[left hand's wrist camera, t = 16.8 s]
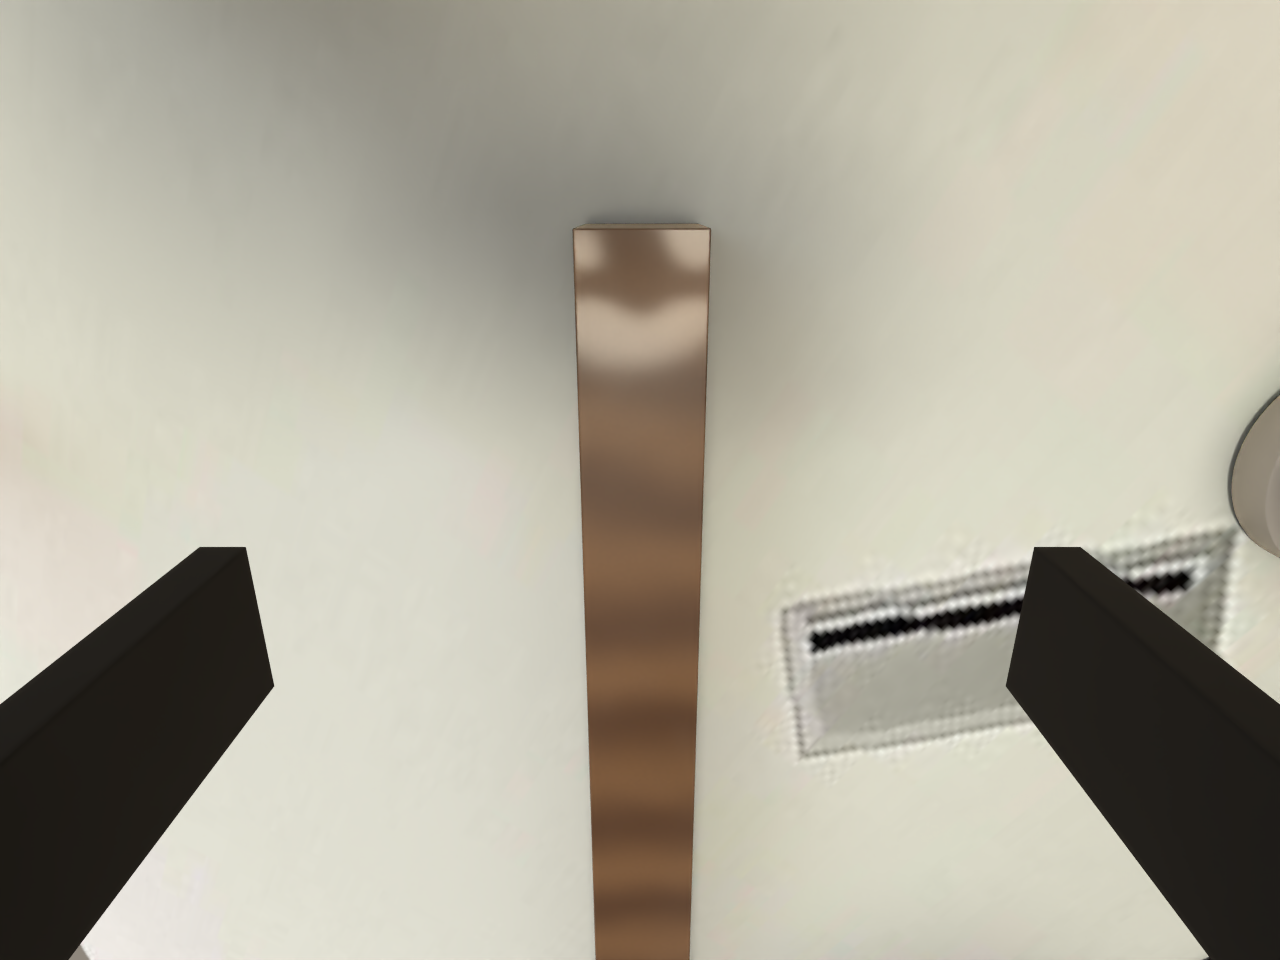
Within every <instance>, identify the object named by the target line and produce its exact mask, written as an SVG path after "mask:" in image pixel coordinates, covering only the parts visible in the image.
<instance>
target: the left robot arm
mask: <svg viewBox="0 0 1280 960" xmlns="http://www.w3.org/2000/svg"><path fill="white" fill-rule="evenodd" d="M273 687H274V683H273V678H272V673H271V668H270V663H269V658H268V653H267V649H266V644H265V639H264V634H263V629H262V624H261V619H260V614H259V609H258V605H257V600H256V595H255V590H254V585H253V580H252V575H251V570H250V566H249V561H248V556H247V551H246V547H199V548H198V549H197V550H195V551H194V552H193V553H192V554H190V555H189V556H188V557H187V558H185V559H184V560H183V561H181V562H180V563H179V564H178V565H176V566H175V567H174V568H173V569H171V570H170V571H169V572H168V573H166V574H165V575H164V576H162V577H161V578H160V579H159V580H157V581H156V582H155V583H154V584H152V585H151V586H150V587H148V588H147V589H146V590H145V591H143V592H142V593H141V594H140V595H138V596H137V597H136V598H135V599H133V600H132V601H131V602H129V603H128V604H127V605H126V606H124V607H123V608H122V609H121V610H119V611H118V612H117V613H116V614H114V615H113V616H112V617H110V618H109V619H108V620H107V621H105V622H104V623H103V624H102V625H100V626H99V627H98V628H97V629H95V630H94V631H93V632H91V633H90V634H89V635H88V636H86V637H85V638H84V639H83V640H81V641H80V642H79V643H77V644H76V645H75V646H74V647H72V648H71V649H70V650H69V651H67V652H66V653H65V654H64V655H62V656H61V657H60V658H58V659H57V660H56V661H55V662H53V663H52V664H51V665H50V666H48V667H47V668H46V669H45V670H43V671H42V672H41V673H39V674H38V675H37V676H36V677H34V678H33V679H32V680H31V681H29V682H28V683H27V684H26V685H24V686H23V687H22V688H20V689H19V690H18V691H17V692H15V693H14V694H13V695H12V696H10V697H9V698H8V699H6V700H5V701H4V702H3V703H1V704H0V960H69V958H70V957H71V956H72V954H73V953H74V952H75V950H76V949H77V948H78V946H79V945H80V944H81V942H82V941H83V940H84V938H85V937H86V936H87V934H88V933H89V932H90V930H91V929H92V928H93V926H94V925H95V924H96V922H97V921H98V920H99V918H100V917H101V916H102V914H103V913H104V912H105V910H106V909H107V908H108V906H109V905H110V904H111V902H112V901H113V900H114V898H115V897H116V896H117V894H118V893H119V892H120V890H121V889H122V888H123V886H124V885H125V884H126V883H127V881H128V880H129V879H130V877H131V876H132V875H133V873H134V872H135V871H136V869H137V868H138V867H139V865H140V864H141V863H142V861H143V860H144V859H145V857H146V856H147V855H148V853H149V852H150V851H151V849H152V848H153V847H154V845H155V844H156V843H157V841H158V840H159V839H160V837H161V836H162V835H163V833H164V832H165V831H166V829H167V828H168V827H169V825H170V824H171V823H172V821H173V820H174V819H175V817H176V816H177V815H178V813H179V812H180V811H181V809H182V808H183V807H184V805H185V804H186V803H187V801H188V800H189V799H190V797H191V796H192V795H193V793H194V792H195V791H196V789H197V788H198V787H199V785H200V784H201V783H202V781H203V780H204V779H205V777H206V776H207V775H208V773H209V772H210V771H211V770H212V768H213V767H214V766H215V764H216V763H217V762H218V760H219V759H220V758H221V756H222V755H223V754H224V752H225V751H226V750H227V748H228V747H229V746H230V744H231V743H232V742H233V740H234V739H235V738H236V736H237V735H238V734H239V732H240V731H241V730H242V728H243V727H244V726H245V724H246V723H247V722H248V720H249V719H250V718H251V716H252V715H253V714H254V712H255V711H256V710H257V708H258V707H259V706H260V704H261V703H262V702H263V700H264V699H265V698H266V696H267V695H268V694H269V692H270V691H271V690H272V688H273ZM1006 687H1007V688H1008V690H1009V691H1010V692H1011V694H1012V695H1013V696H1014V698H1015V699H1016V700H1017V702H1018V703H1019V704H1020V706H1021V707H1022V708H1023V710H1024V711H1025V712H1026V714H1027V715H1028V716H1029V718H1030V719H1031V720H1032V722H1033V723H1034V724H1035V726H1036V727H1037V728H1038V730H1039V731H1040V732H1041V734H1042V735H1043V736H1044V738H1045V739H1046V740H1047V742H1048V743H1049V744H1050V746H1051V747H1052V748H1053V750H1054V751H1055V752H1056V754H1057V755H1058V756H1059V758H1060V759H1061V760H1062V762H1063V763H1064V764H1065V766H1066V767H1067V768H1068V770H1069V771H1070V772H1071V773H1072V775H1073V776H1074V777H1075V779H1076V780H1077V781H1078V783H1079V784H1080V785H1081V787H1082V788H1083V789H1084V791H1085V792H1086V793H1087V795H1088V796H1089V797H1090V799H1091V800H1092V801H1093V803H1094V804H1095V805H1096V807H1097V808H1098V809H1099V811H1100V812H1101V813H1102V815H1103V816H1104V817H1105V819H1106V820H1107V821H1108V823H1109V824H1110V825H1111V827H1112V828H1113V829H1114V831H1115V832H1116V833H1117V835H1118V836H1119V837H1120V839H1121V840H1122V841H1123V843H1124V844H1125V845H1126V847H1127V848H1128V849H1129V851H1130V852H1131V853H1132V855H1133V856H1134V857H1135V859H1136V860H1137V861H1138V863H1139V864H1140V865H1141V867H1142V868H1143V869H1144V871H1145V872H1146V873H1147V875H1148V876H1149V877H1150V879H1151V880H1152V881H1153V883H1154V884H1155V885H1156V886H1157V888H1158V889H1159V890H1160V892H1161V893H1162V894H1163V896H1164V897H1165V898H1166V900H1167V901H1168V902H1169V904H1170V905H1171V906H1172V908H1173V909H1174V910H1175V912H1176V913H1177V914H1178V916H1179V917H1180V918H1181V920H1182V921H1183V922H1184V924H1185V925H1186V926H1187V928H1188V929H1189V930H1190V932H1191V933H1192V934H1193V936H1194V937H1195V938H1196V940H1197V941H1198V942H1199V944H1200V945H1201V946H1202V948H1203V949H1204V950H1205V952H1206V953H1207V954H1208V956H1209V957H1210V958H1211V960H1280V704H1279V703H1277V702H1276V701H1275V700H1274V699H1272V698H1271V697H1270V696H1268V695H1267V694H1266V693H1265V692H1263V691H1262V690H1261V689H1260V688H1258V687H1257V686H1256V685H1254V684H1253V683H1252V682H1251V681H1249V680H1248V679H1247V678H1246V677H1244V676H1243V675H1242V674H1241V673H1239V672H1238V671H1237V670H1235V669H1234V668H1233V667H1232V666H1230V665H1229V664H1228V663H1227V662H1225V661H1224V660H1223V659H1222V658H1220V657H1219V656H1218V655H1216V654H1215V653H1214V652H1213V651H1211V650H1210V649H1209V648H1208V647H1206V646H1205V645H1204V644H1203V643H1201V642H1200V641H1199V640H1197V639H1196V638H1195V637H1194V636H1192V635H1191V634H1190V633H1189V632H1187V631H1186V630H1185V629H1183V628H1182V627H1181V626H1180V625H1178V624H1177V623H1176V622H1175V621H1173V620H1172V619H1171V618H1170V617H1168V616H1167V615H1166V614H1164V613H1163V612H1162V611H1161V610H1159V609H1158V608H1157V607H1156V606H1154V605H1153V604H1152V603H1151V602H1149V601H1148V600H1147V599H1145V598H1144V597H1143V596H1142V595H1140V594H1139V593H1138V592H1137V591H1135V590H1134V589H1133V588H1132V587H1130V586H1129V585H1128V584H1126V583H1125V582H1124V581H1123V580H1121V579H1120V578H1119V577H1118V576H1116V575H1115V574H1114V573H1112V572H1111V571H1110V570H1109V569H1107V568H1106V567H1105V566H1104V565H1102V564H1101V563H1100V562H1099V561H1097V560H1096V559H1095V558H1093V557H1092V556H1091V555H1090V554H1088V553H1087V552H1086V551H1085V550H1083V549H1082V548H1081V547H1034V551H1033V556H1032V561H1031V566H1030V570H1029V575H1028V580H1027V585H1026V590H1025V595H1024V600H1023V605H1022V609H1021V614H1020V619H1019V624H1018V629H1017V634H1016V639H1015V644H1014V649H1013V653H1012V658H1011V663H1010V668H1009V673H1008V678H1007V683H1006Z"/></svg>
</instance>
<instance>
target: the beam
mask: <svg viewBox="0 0 1280 960" xmlns="http://www.w3.org/2000/svg"><path fill="white" fill-rule="evenodd" d="M710 248H711V229H710V228H708V227H705V226H703V225H700V224H584V225H582V226H579V227H576V228H574V229H573V257H574V289H575V320H576V352H577V384H578V416H579V447H580V479H581V511H582V543H583V574H584V606H585V638H586V669H587V701H588V733H589V765H590V796H591V828H592V860H593V891H594V923H595V955H596V960H689V956H690V923H691V889H692V855H693V821H694V788H695V754H696V720H697V686H698V653H699V619H700V585H701V551H702V518H703V484H704V450H705V416H706V383H707V349H708V315H709V282H710Z"/></svg>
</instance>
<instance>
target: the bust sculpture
mask: <svg viewBox="0 0 1280 960" xmlns="http://www.w3.org/2000/svg"><path fill="white" fill-rule="evenodd" d="M1232 502H1233V507H1234V510H1235V514H1236V516H1237V519H1238V521H1239V523H1240V525H1241V527H1242V528H1243V530H1244V531H1245V532H1246V534H1247V535H1248V536H1249V537H1250V538H1251V539H1252V540H1253V541H1254V542H1255V543H1256V544H1257V545H1259V546H1260V547H1262V548H1263V549H1265V550H1267V551H1268V552H1270V553H1272V554H1274V555H1276V556H1277V557H1279V558H1280V395H1279V396H1278V397H1277V398H1276V399H1275V400H1274V401H1273V402H1272V403H1271V404H1270V405H1269V406H1268V407H1267V408H1266V409H1265V411H1264V412H1263V413H1262V414H1261V415H1260V417H1259V418H1258V419H1257V421H1256V422H1255V423H1254V425H1253V426H1252V428H1251V429H1250V431H1249V433H1248V434H1247V436H1246V438H1245V440H1244V442H1243V444H1242V446H1241V448H1240V451H1239V453H1238V456H1237V459H1236V462H1235V466H1234V470H1233V476H1232Z"/></svg>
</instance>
